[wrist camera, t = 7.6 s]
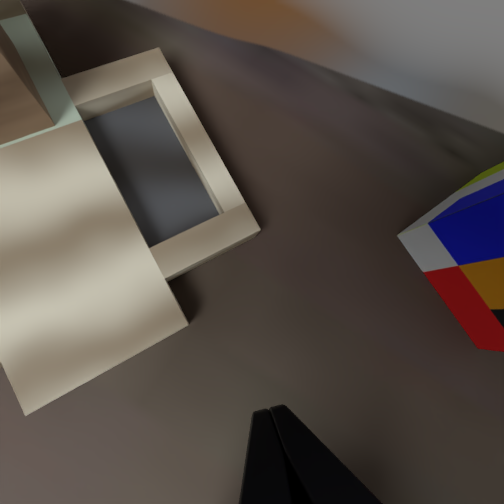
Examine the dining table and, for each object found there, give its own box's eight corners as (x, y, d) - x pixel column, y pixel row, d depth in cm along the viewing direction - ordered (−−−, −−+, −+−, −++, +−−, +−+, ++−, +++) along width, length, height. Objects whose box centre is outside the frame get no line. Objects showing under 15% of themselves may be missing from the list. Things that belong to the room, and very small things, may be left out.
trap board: (276, 275, 22) (293, 267, 18) (-85, 476, 16) (-173, 527, 12) (122, -2, 24) (107, -64, 20) (-242, 97, 18) (-359, 38, 14)
